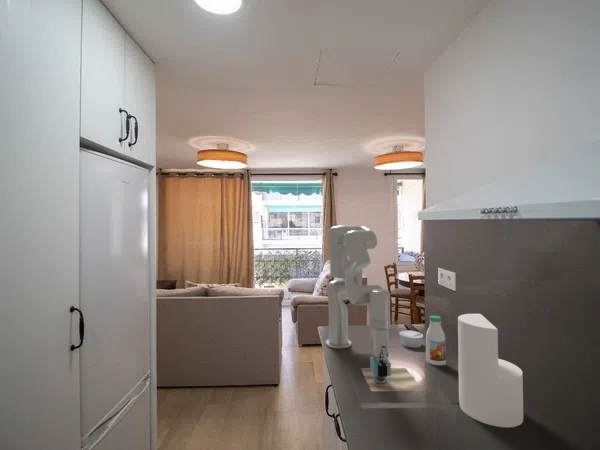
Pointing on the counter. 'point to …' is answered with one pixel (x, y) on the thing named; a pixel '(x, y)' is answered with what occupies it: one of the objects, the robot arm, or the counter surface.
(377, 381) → the stud
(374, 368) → the teal knob cube
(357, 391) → the counter surface
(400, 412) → the counter surface
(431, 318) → the milk bottle
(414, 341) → the ramekin
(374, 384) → the board
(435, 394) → the counter surface
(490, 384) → the white stepped round block
